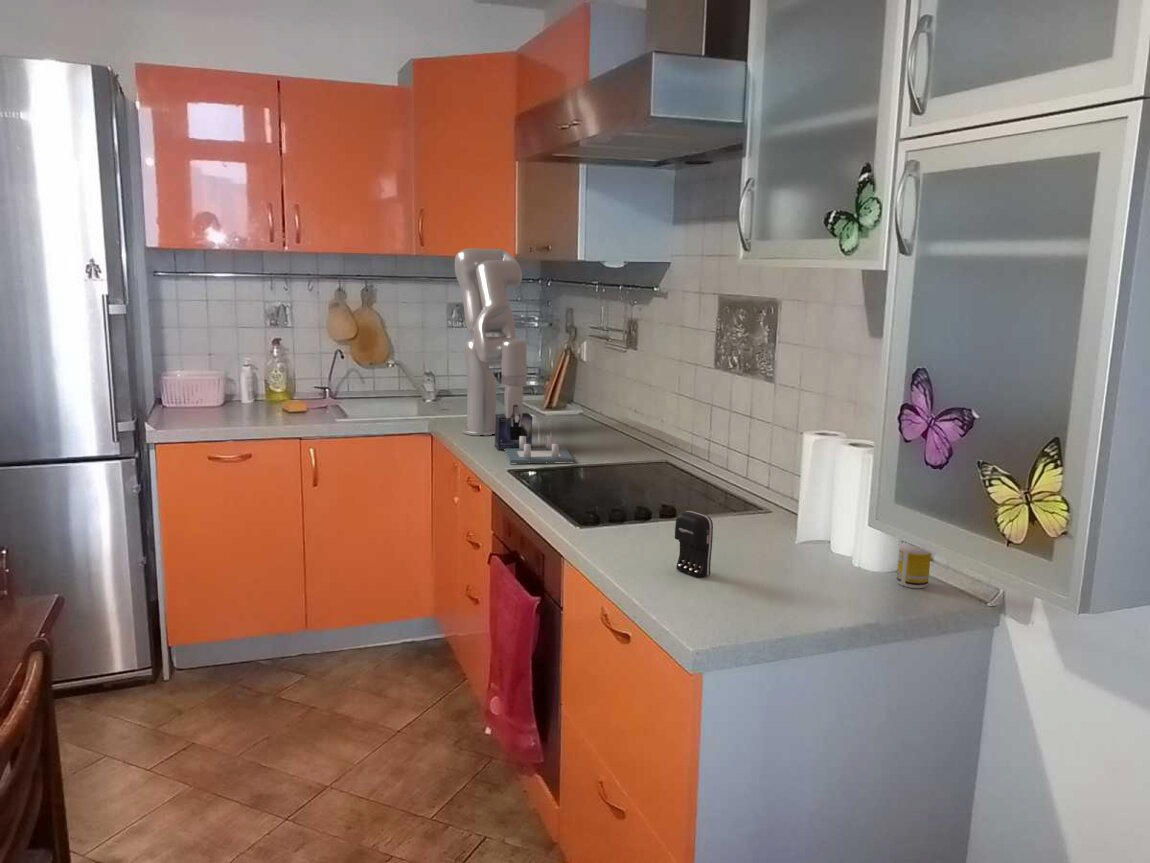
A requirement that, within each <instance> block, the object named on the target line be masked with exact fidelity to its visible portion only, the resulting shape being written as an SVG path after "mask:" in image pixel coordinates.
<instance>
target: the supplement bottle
mask: <svg viewBox="0 0 1150 863" xmlns="http://www.w3.org/2000/svg"><path fill="white" fill-rule="evenodd" d="M898 551H899V552H898V560H897V561H898V562H897V572H896V573H897V574H896V582H897V584H899V585H901V586H902V587H905V588H909V589H915V590H916V589H924V588H926V587H927V586H928V585H929V579H930V578H929V577H930V568H931V557H932V556H931V555H932V552H931V553H929V552H927V551H925V550H922V549H919V548H917V547H915V546H912V545H910V544H908V543H905V541H902V543H900V545H899V550H898Z"/></svg>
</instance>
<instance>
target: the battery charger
mask: <svg viewBox="0 0 1150 863" xmlns="http://www.w3.org/2000/svg"><path fill="white" fill-rule="evenodd" d="M674 526H675V527H674V540H678V542H679V556H678V559H677V563H676V569H677V571H679V572H682V573H684V574H687V575H689V576H693V577H696V578H703V577H708V576H710V575H711V560H712V550H713V549H712V548H713V533H714V531H713V529H714V523H713V520H712V518H711V517H710V516H708V515H706V514H703V513H700V512H697V511H693V510H688V511H685V512H681V513H679V514H678V515H677V516H676V518H675V525H674Z"/></svg>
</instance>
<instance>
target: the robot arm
mask: <svg viewBox="0 0 1150 863" xmlns="http://www.w3.org/2000/svg"><path fill="white" fill-rule="evenodd" d="M454 271H455V277H456V279H457V282H458V284H459V287H460V291H461V294H462V304H463V312H464V321H465V326H466V329H467V330H468V332H470V333H472V334H473V337H471V338H469V339H467V341H466V342H465V344H464V348H463V353H464V359H465V366H466V388H467V390H466V391H467V392H466V395H467V396H466V400H467V402H466V404H467V405H466V406H467V407H466V410H467V412H466V414H467V415H466V419H467V420H466V424H467V426H466V427H465V426H464V427H463V428H462V433H464V434H465V435H469V436H480V435H484V436H493V435H492V434H495V418H496V417H495V414H497V379H496V376H495V374H494V373H493V372H492V370H491V369H490V367H496V366H497V367H499V366H500V367H501V386H502V387H504V392H503V393H504V394H503V395H504V396H503V401H504V402H503V403H504V404H503V413H504V414H505V417H506V419H507V420H508V418H511V427H510V439H511V440H519V436H521V423H520V419H521V418H522V413H523V409H524V408H523V407H524V404H523V403H524V399H523V398H524V387H527V377H528V376H527V374H528V372H527V370H528V369H527V368H528V366H527V361H528V360H527V359H528V357H527V355H528V354H527V349H528V348H527V341H525V340H522V339H519V338H517V335H516V333H517V332H516V325H515V318H514V314H513V311H512V309H511V308H510V306H511V304H510V299H509V295H508V290H507V288H518V287H519V286H520V285H521V284H522V281H523V272H522V268H521V266H520V264H519V262H518V260H516V258H514V256H512V255H511V254H510V253H509V252H508V251H507V250H505V249H499V248H465V249H461V250H459V251H458V252H457V253H456V255H455V258H454ZM487 334H497V335H498V336H487Z"/></svg>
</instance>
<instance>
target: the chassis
mask: <svg viewBox="0 0 1150 863" xmlns="http://www.w3.org/2000/svg"><path fill="white" fill-rule="evenodd" d="M504 451H505V452H506V453H505V455H506V454H507V455H506V457H507V456H508V458H509V460H508V462H509V461H510V463H529V462H530V463H546V462H547V463H555V462H573V463H574V458H573V457H572V455H571V454H570V453H569V451H568V450H567V448H566V447H560V445H559V443H554V436H553V435H546V436H545V447H535V448H534V447H533V448H531V444H526V436H519V448H514V449H505V450H504ZM508 458H507V459H508ZM510 463H509V464H510Z"/></svg>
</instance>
